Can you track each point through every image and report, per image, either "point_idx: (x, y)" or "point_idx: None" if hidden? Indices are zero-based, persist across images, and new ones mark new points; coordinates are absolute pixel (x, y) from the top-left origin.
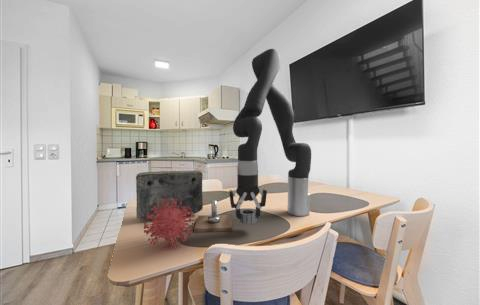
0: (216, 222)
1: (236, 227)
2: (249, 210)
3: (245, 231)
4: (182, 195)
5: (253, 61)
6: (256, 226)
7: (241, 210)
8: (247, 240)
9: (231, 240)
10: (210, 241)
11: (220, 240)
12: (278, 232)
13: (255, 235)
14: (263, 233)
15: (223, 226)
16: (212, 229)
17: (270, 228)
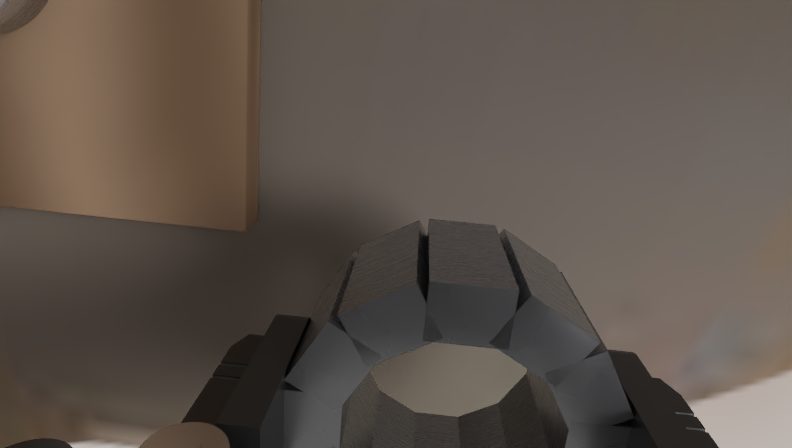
0: (7, 28)
1: (322, 119)
2: (512, 353)
3: None
4: None
5: None
6: (599, 132)
7: (334, 331)
8: None
9: None
10: (41, 397)
11: (132, 396)
12: (779, 342)
13: (495, 362)
14: (599, 335)
15: (128, 172)
16: (2, 202)
17: (751, 226)
